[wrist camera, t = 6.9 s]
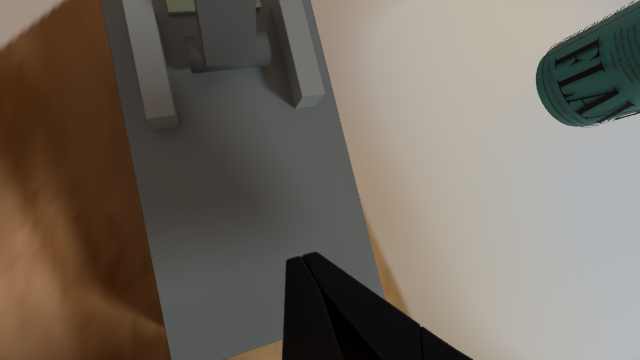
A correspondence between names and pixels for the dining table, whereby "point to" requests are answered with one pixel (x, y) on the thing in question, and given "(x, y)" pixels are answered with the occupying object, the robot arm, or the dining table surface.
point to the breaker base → (234, 172)
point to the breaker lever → (227, 37)
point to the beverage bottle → (594, 72)
